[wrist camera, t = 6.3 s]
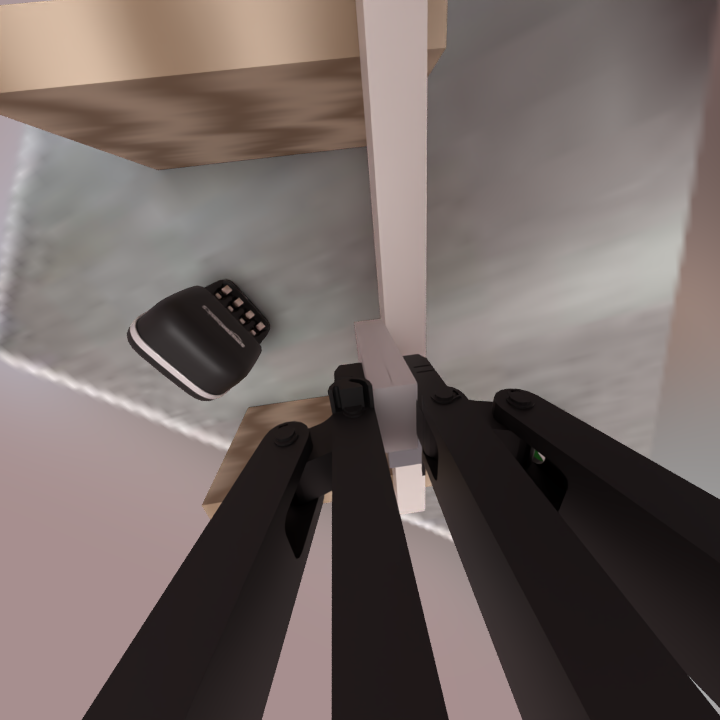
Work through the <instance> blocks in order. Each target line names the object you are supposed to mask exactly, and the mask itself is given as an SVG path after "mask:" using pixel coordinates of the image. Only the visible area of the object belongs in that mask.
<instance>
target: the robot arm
mask: <svg viewBox="0 0 720 720" xmlns="http://www.w3.org/2000/svg"><path fill="white" fill-rule="evenodd" d="M354 326H355V334H356V342H357V351H358V359H359V363H354V364H347V365H339V366H338V368H337V369H336V370H335V372H334V379H335V380H334V383H333V384H332V385H331V386H330V387H329V390H328V395H329V400H330V405H331V410H332V415H331V416H330V417H329V418H328V419H327V420H326V421H324V422H322V423H320V424H318V425H316V426H313V427H311V428H308V427H307V425H305V424H304V423H302V422H297V421H290V422H285V423H282V424H279V425H277V426H275V427H274V428H272V429H271V430H270V431H269V432H268V433H267V434H266V435H265V436H264V438H263V439H262V441H261V442H260V444H259V445H258V447H257V449H256V450H255V452H254V453H253V455H252V456H251V458H250V459H249V461H248V462H247V464H246V466H245V467H244V469H243V470H242V472H241V473H240V475H239V476H238V478H237V480H236V481H235V483H234V484H233V486H232V487H231V489H230V490H229V492H228V494H227V495H226V497H225V498H224V500H223V501H222V503H221V504H220V506H219V507H218V509H217V511H216V512H215V514H214V515H213V517H212V518H211V520H210V522H209V523H208V525H207V526H206V528H205V529H204V531H203V533H202V534H201V535H200V537H199V539H198V540H197V542H196V543H195V545H194V546H193V548H192V549H191V551H190V553H189V554H188V556H187V557H186V559H185V560H184V562H183V563H182V565H181V567H180V568H179V570H178V571H177V573H176V574H175V576H174V577H173V579H172V581H171V582H170V584H169V585H168V587H167V588H166V590H165V592H164V593H163V594H162V596H161V598H160V599H159V601H158V602H157V604H156V605H155V607H154V608H153V610H152V611H151V613H150V615H149V616H148V618H147V619H146V621H145V622H144V624H143V625H142V627H141V629H140V630H139V632H138V633H137V635H136V637H135V638H134V639H133V641H132V643H131V644H130V646H129V647H128V649H127V650H126V652H125V653H124V655H123V656H122V658H121V660H120V661H119V663H118V664H117V666H116V667H115V669H114V670H113V672H112V674H111V675H110V677H109V678H108V680H107V682H106V683H105V684H104V686H103V688H102V689H101V691H100V692H99V694H98V696H97V697H96V699H95V700H94V702H93V703H92V705H91V706H90V708H89V709H88V711H87V712H86V714H85V715H84V717H83V719H82V720H262V717H263V713H264V709H265V706H266V702H267V699H268V695H269V692H270V688H271V685H272V681H273V677H274V674H275V670H276V667H277V663H278V660H279V657H280V652H281V650H282V646H283V642H284V639H285V635H286V632H287V628H288V625H289V621H290V618H291V614H292V610H293V607H294V604H295V600H296V596H297V593H298V589H299V586H300V582H301V579H302V575H303V572H304V568H305V564H306V561H307V558H308V554H309V551H310V547H311V543H312V540H313V536H314V533H315V529H316V526H317V522H318V519H319V515H320V512H321V508H322V505H323V501H324V495H325V494H327V493H329V492H331V491H332V720H449V719H448V714H447V711H446V706H445V702H444V698H443V693H442V689H441V685H440V681H439V677H438V673H437V668H436V664H435V660H434V656H433V651H432V647H431V643H430V639H429V635H428V631H427V626H426V622H425V618H424V614H423V609H422V605H421V601H420V597H419V592H418V589H417V584H416V580H415V576H414V572H413V567H412V563H411V559H410V555H409V550H408V547H407V542H406V538H405V534H404V530H403V525H402V521H401V517H400V513H399V508H398V504H397V500H396V496H395V492H394V487H393V483H392V479H391V475H390V470H389V466H388V462H387V458H386V454H385V453H388V452H395V451H401V450H408V449H415V448H418V439H419V441H420V444H421V446H422V476H425V475H426V471H427V473H428V476H429V478H430V481H431V484H432V486H433V489H434V491H435V494H436V497H437V499H438V502H439V504H440V507H441V510H442V512H443V515H444V517H445V520H446V523H447V525H448V528H449V530H450V533H451V535H452V538H453V541H454V543H455V546H456V548H457V551H458V554H459V556H460V558H461V561H462V564H463V567H464V569H465V572H466V574H467V577H468V580H469V582H470V585H471V587H472V590H473V592H474V595H475V598H476V600H477V603H478V605H479V608H480V611H481V613H482V616H483V618H484V621H485V624H486V626H487V628H488V631H489V634H490V636H491V639H492V641H493V644H494V647H495V650H496V652H497V655H498V657H499V660H500V662H501V665H502V668H503V670H504V673H505V675H506V678H507V681H508V683H509V686H510V688H511V691H512V693H513V696H514V699H515V701H516V704H517V706H518V709H519V712H520V714H521V717H522V720H720V715H719V714H718V713H717V711H716V710H715V709H714V708H713V706H712V705H711V704H710V703H709V701H708V700H707V699H706V698H705V696H704V695H703V694H702V693H701V691H700V690H699V689H698V688H697V687H696V685H695V684H694V683H693V681H694V682H695V683H696V684H697V685H698V686H699V687H700V688H701V689H702V690H703V691H704V692H705V693H706V694H707V695H708V696H709V697H710V698H711V699H712V700H713V701H714V702H715V703H716V704H717V705H718V707H720V499H718V498H716V497H715V496H713V495H711V494H709V493H708V492H706V491H704V490H702V489H701V488H699V487H697V486H695V485H694V484H692V483H690V482H688V481H686V480H685V479H683V478H681V477H680V476H678V475H676V474H674V473H672V472H671V471H669V470H667V469H665V468H664V467H662V466H660V465H658V464H657V463H655V462H653V461H651V460H650V459H648V458H646V457H644V456H643V455H641V454H639V453H637V452H636V451H634V450H632V449H630V448H629V447H627V446H625V445H623V444H622V443H620V442H618V441H616V440H615V439H613V438H611V437H609V436H608V435H606V434H604V433H602V432H601V431H599V430H597V429H595V428H594V427H592V426H590V425H588V424H587V423H585V422H583V421H581V420H580V419H578V418H576V417H574V416H573V415H571V414H569V413H567V412H565V411H564V410H562V409H560V408H558V407H557V406H555V405H553V404H551V403H550V402H548V401H546V400H544V399H543V398H541V397H539V396H537V395H535V394H533V393H531V392H528V391H524V390H521V389H504V390H500V391H499V392H497V393H496V394H495V396H494V400H493V402H488V401H474V400H468V398H467V397H466V396H465V395H464V394H463V393H462V392H461V391H460V390H458V389H455V388H453V387H449V386H446V384H445V383H444V381H443V380H442V379H441V377H440V376H439V375H438V373H437V372H436V371H435V369H434V368H433V366H431V364H430V362H429V361H428V360H427V358H425V357H423V356H421V355H419V354H413V355H406V356H402V354H401V353H400V351H399V349H398V347H397V345H396V344H395V342H394V340H393V338H392V336H391V335H390V333H389V331H388V329H387V327H386V326H385V324H384V322H383V320H382V318H381V319H373V320H366V321H358V322H354ZM535 450H536V451H538V452H539V453H540V454H541V455H543V456H544V457H545V460H544V462H543V461H540V460H538V459H537V458H536V457H534V453H535ZM689 677H691V679H692V680H693V681H692V680H691V679H690V678H689Z"/></svg>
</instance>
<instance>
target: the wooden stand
mask: <svg viewBox="0 0 720 720" xmlns="http://www.w3.org/2000/svg"><path fill="white" fill-rule="evenodd" d="M446 35H447V0H428V20H427V78H428V76H429V74H430V73H431V71H432V70H433V68H434V66H435V65H436V63H437V62H438V60H439V58H440V57H441V55H442V53H443V52H444V50H445V49H446ZM0 115H2V116H5V117H8V118H11V119H14V120H16V121H19V122H22V123H25V124H28V125H31V126H34V127H36V128H39V129H42V130H45V131H48V132H51V133H54V134H56V135H59V136H62V137H65V138H68V139H71V140H74V141H76V142H79V143H82V144H85V145H88V146H91V147H94V148H96V149H99V150H102V151H105V152H108V153H111V154H114V155H116V156H119V157H122V158H125V159H128V160H131V161H134V162H136V163H139V164H142V165H145V166H148V167H151V168H154V169H156V170H163V169H172V168H180V167H189V166H198V165H207V164H215V163H224V162H233V161H242V160H250V159H259V158H268V157H277V156H286V155H294V154H303V153H312V152H321V151H329V150H338V149H347V148H356V147H364V146H367V141H366V128H365V115H364V102H363V89H362V77H361V64H360V51H359V38H358V25H357V13H356V0H52V1H42V2H31V3H19V4H8V5H0ZM331 415H332V410H331V405H330V400H329V396H324V397H317V398H311V399H304V400H297V401H290V402H283V403H277V404H270V405H263V406H256V407H249V408H248V410H247V412H246V414H245V416H244V418H243V420H242V422H241V424H240V426H239V428H238V431H237V433H236V435H235V437H234V439H233V441H232V443H231V445H230V447H229V449H228V452H227V454H226V456H225V458H224V460H223V462H222V464H221V466H220V468H219V471H218V473H217V475H216V477H215V479H214V481H213V483H212V485H211V487H210V489H209V491H208V493H207V496H206V498H205V500H204V502H203V504H202V507H203V508H204V510H205V511H206V513H207V515H208V516H209V518H210V520H211V518H212V517H213V515H214V514H215V512H216V511H217V509H218V507H219V506H220V504H221V503H222V501H223V500H224V498H225V497H226V495H227V494H228V492H229V490H230V489H231V487H232V486H233V484H234V483H235V481H236V480H237V478H238V476H239V475H240V473H241V472H242V470H243V469H244V467H245V466H246V464H247V462H248V461H249V459H250V458H251V456H252V455H253V453H254V452H255V450H256V449H257V447H258V445H259V444H260V442H261V441H262V439H263V438H264V436H265V435H266V434H267V433H268V432H269V431H270V430H271V429H272V428H274V427H275V426H277V425H279V424H282V423H285V422H290V421H297V422H302V423H304V424H305V425H307V427H308V428H311V427H313V426H316V425H318V424H320V423H322V422H324V421H326V420H327V419H328V418H329V417H330V416H331ZM385 454H386V453H385ZM386 458H387V454H386ZM387 462H388V459H387ZM388 466H389V463H388ZM389 470H390V475H391V479H392V483H393V473H392V468H390V467H389ZM428 486H432V484H431V481H430V478H429V476H428V473H427V471H426V475H425V487H428ZM393 487H394V486H393ZM328 502H332V491H331V492H329V493H327V494H325V495H324V501H323V503H328Z"/></svg>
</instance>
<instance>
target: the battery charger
mask: <svg viewBox="0 0 720 720" xmlns="http://www.w3.org/2000/svg"><path fill="white" fill-rule="evenodd" d="M269 329H270V325H269V323H268V321H267V320H266V318H265V317H264V316H263V315H262V314H261V313H260V312H259V310H258V309H257V308H256V307H255V306H254V305H253V304H252V303H251V302H250V300H249V299H248V298H247V297H246V296H245V295H244V294H243V293H242V292H241V291H240V289H239V288H238V287H237V286H236V285H235V284H234V283H232V282H231V281H229V280H219V281H217V282H215V283H213V284H211V285H209V286H207V287H205V288H204V287H201V286H194V287H190V288H187V289H184V290H182V291H179V292H177V293H175V294H173V295H171V296H169V297H167V298H165V299H163V300H161V301H160V302H158V303H157V304H156V305H155V306H154V307H152V308H151V309H150V310H149V311H147V312H145V313H143V314H141V315H140V316H139V317H137V318H136V319H135V320H134V321H133V322H132V323H131V326H130V327H129V329H128V332H127V338H128V342H129V344H130V345H131V347H132V348H133V349H134V350H135V351H136V352H137V353H138V354H139V355H140V356H141V357H142V358H144V359H145V360H146V361H147V362H148V363H150V364H151V365H152V366H153V367H154V368H156V369H157V370H158V371H159V372H161V373H162V374H163V375H164V376H165V377H167V378H168V379H169V380H171V381H172V382H173V383H175V384H176V385H177V386H178V387H180V388H181V389H182V390H184V391H185V392H186V393H188V394H189V395H191V396H192V397H194V398H196V399H198V400H201V401H211V400H213V399H217V398H220V397H221V396H223V395H224V394H226V393H227V392H228V391H229V390H230V389H231V388H232V387H234V386H235V385H236V384H238V383H239V382H240V381H241V380H242V379H244V378H245V377H246V376H247V375H248V373H249V372H250V370H251V369H252V367H253V366H254V364H255V363H256V361H257V359H258V357H259V356H260V354H261V352H262V350H261V346H260V343H261V342H262V340H263V339H264V338H265V337H266V335H267V334H268V332H269Z"/></svg>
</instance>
